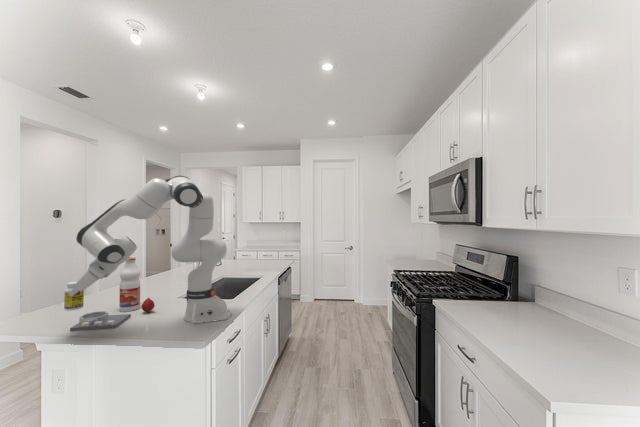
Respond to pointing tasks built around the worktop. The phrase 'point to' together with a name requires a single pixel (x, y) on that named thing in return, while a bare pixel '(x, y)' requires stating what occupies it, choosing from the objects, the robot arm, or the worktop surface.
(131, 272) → the fruit juice
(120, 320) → the plate
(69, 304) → the pill bottle
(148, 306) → the strawberry
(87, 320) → the lockout collar
